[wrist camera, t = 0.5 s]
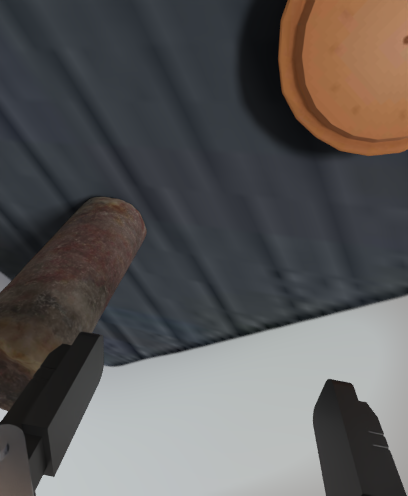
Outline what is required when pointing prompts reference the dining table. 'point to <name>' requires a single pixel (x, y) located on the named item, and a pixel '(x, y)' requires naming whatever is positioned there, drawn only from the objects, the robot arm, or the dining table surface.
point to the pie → (347, 72)
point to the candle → (64, 288)
